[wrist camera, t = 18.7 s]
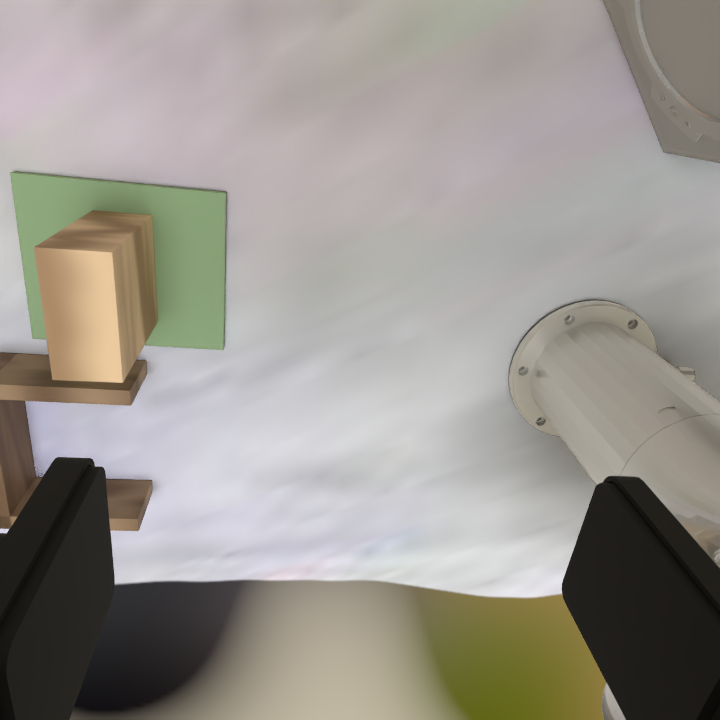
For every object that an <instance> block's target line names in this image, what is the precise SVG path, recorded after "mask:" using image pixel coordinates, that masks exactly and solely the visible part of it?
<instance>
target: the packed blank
mask: <svg viewBox="0 0 720 720" xmlns="http://www.w3.org/2000/svg"><path fill="white" fill-rule="evenodd" d="M34 252H35V259H36V266H37V273H38V280H39V287H40V294H41V302H42V309H43V316H44V323H45V330H46V337H47V345H48V352H49V359H50V366H51V373H52V380H66V381H91V382H117V383H123V382H124V380H125V378H126V376H127V375H128V373H129V371H130V369H131V368H132V366H133V364H134V363H135V361H136V359H137V357H138V356H139V354H140V352H141V350H142V349H143V347H144V345H145V343H146V342H147V340H148V338H149V336H150V335H151V333H152V331H153V329H154V328H155V326H156V324H157V322H158V310H157V290H156V271H155V251H154V232H153V215H148V214H135V213H122V212H109V211H96V210H92V211H90V212H89V213H87V214H86V215H84V216H83V217H81V218H79V219H78V220H76V221H75V222H73V223H71V224H70V225H68V226H67V227H65V228H64V229H62V230H60V231H59V232H57V233H56V234H54V235H52V236H51V237H49V238H48V239H46V240H45V241H43V242H41V243H40V244H38V245H37V246H35V247H34Z"/></svg>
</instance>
